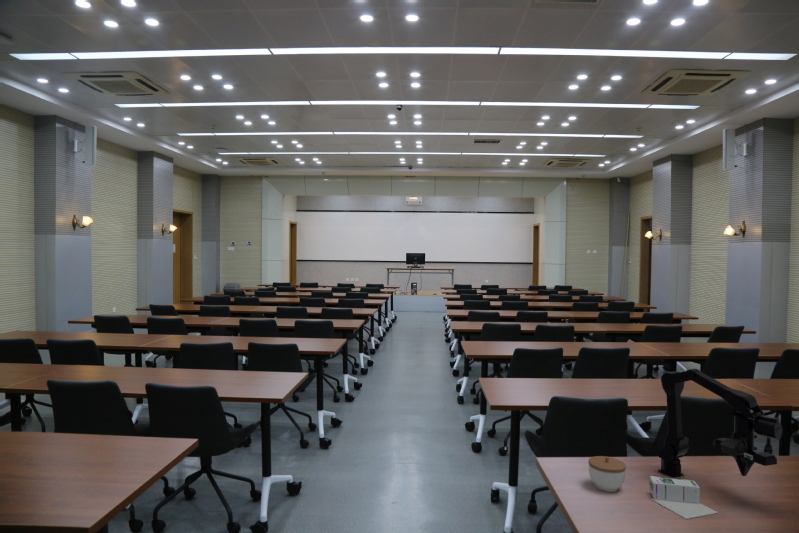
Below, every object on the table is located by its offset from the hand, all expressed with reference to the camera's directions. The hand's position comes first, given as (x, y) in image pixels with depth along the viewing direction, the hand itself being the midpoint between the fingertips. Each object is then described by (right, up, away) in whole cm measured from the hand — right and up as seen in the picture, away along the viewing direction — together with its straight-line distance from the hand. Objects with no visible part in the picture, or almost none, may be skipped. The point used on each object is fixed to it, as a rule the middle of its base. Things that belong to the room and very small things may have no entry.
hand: (743, 475), depth 170 cm
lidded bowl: (-44, -8, +9) cm, 45 cm away
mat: (-24, -8, -5) cm, 26 cm away
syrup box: (-17, -5, -1) cm, 18 cm away
